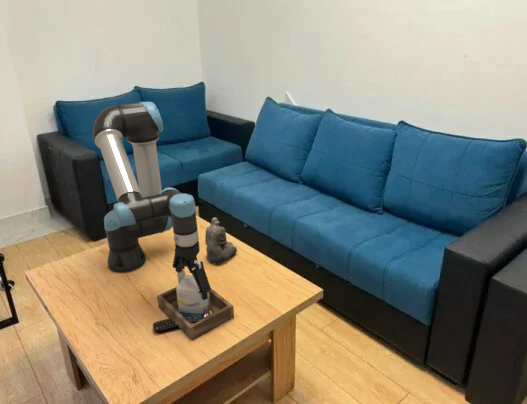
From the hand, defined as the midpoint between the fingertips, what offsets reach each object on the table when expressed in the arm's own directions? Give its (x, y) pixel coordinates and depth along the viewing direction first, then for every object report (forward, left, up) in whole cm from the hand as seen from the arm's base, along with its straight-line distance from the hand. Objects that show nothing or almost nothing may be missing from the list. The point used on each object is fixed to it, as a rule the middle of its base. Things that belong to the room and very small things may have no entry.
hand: (193, 296), depth 146 cm
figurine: (-24, +27, -7) cm, 36 cm away
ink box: (0, 0, -6) cm, 6 cm away
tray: (0, 0, -6) cm, 6 cm away
